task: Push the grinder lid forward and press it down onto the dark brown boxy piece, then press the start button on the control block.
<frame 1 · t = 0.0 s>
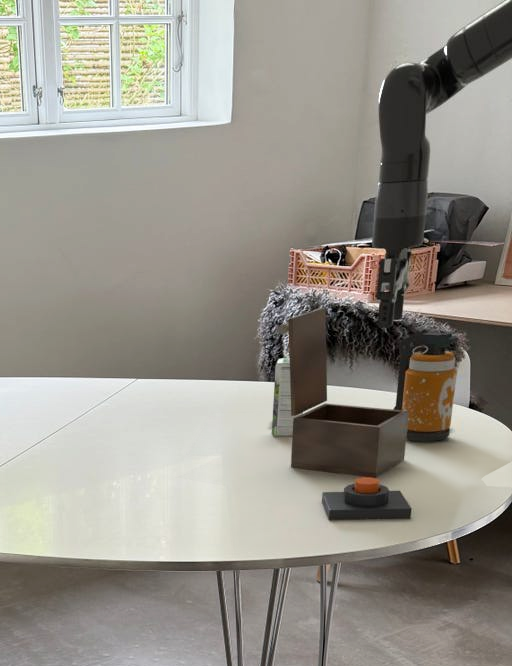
hand: (389, 323, 153), 25 cm above the table, tool pointing down, fingers open, 8 cm apart
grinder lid: (298, 361, 171), point 17 cm above the table, hinge at 95.0°
control block: (364, 510, 149), on the table
dark brown boxy piece: (347, 463, 172), on the table
syrup box: (287, 433, 194), on the table
canister: (418, 438, 184), on the table
start button: (366, 485, 147), point 4 cm above the table, slide at 0.1 cm
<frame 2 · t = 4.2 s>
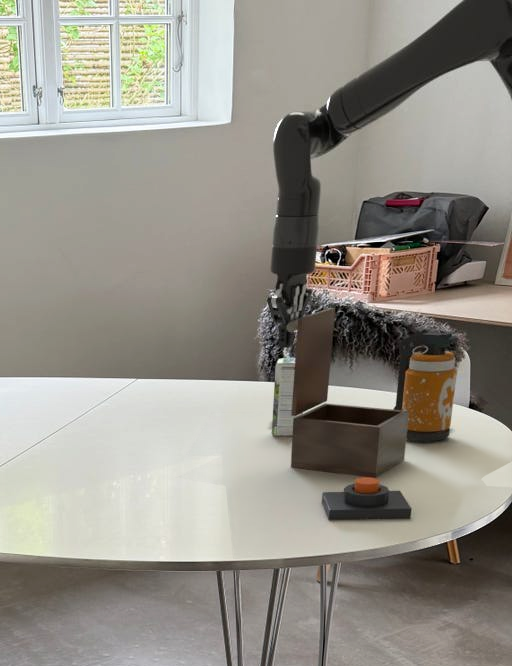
hand: (285, 346, 171), 20 cm above the table, tool pointing down, fingers closed
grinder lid: (302, 360, 170), point 18 cm above the table, hinge at 88.7°, touching gripper, hand
everything else where it was.
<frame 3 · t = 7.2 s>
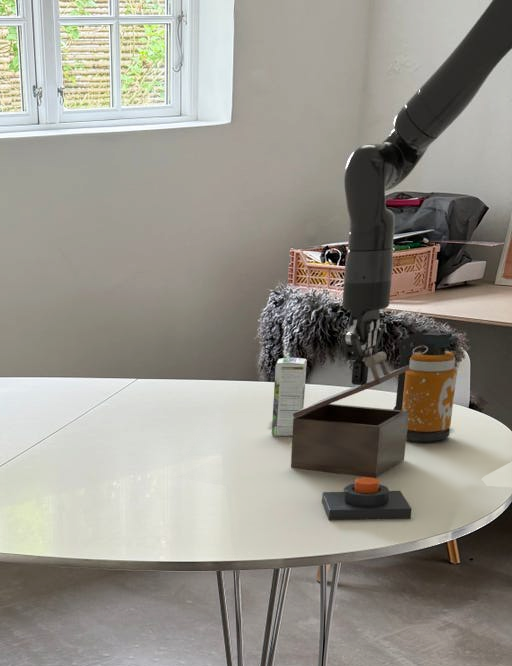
hand: (359, 383, 165), 14 cm above the table, tool pointing down, fingers closed
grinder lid: (346, 380, 166), point 15 cm above the table, hinge at 25.3°, touching gripper
everything else where it was.
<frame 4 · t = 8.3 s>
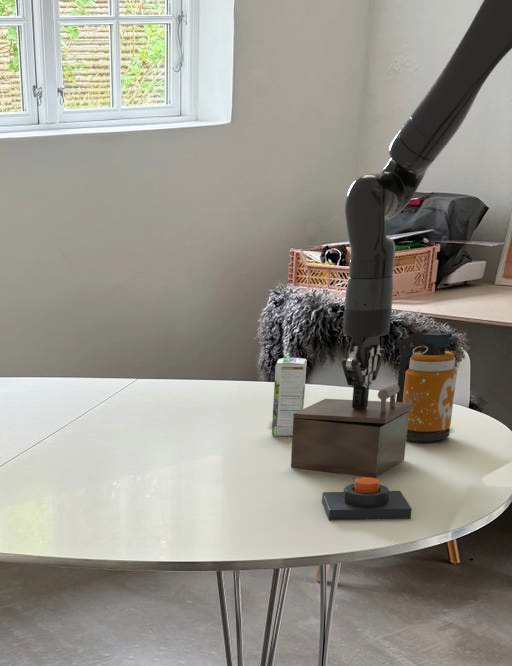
hand: (359, 408, 167), 10 cm above the table, tool pointing down, fingers closed
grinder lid: (354, 399, 167), point 12 cm above the table, hinge at 2.2°, touching gripper
everything else where it was.
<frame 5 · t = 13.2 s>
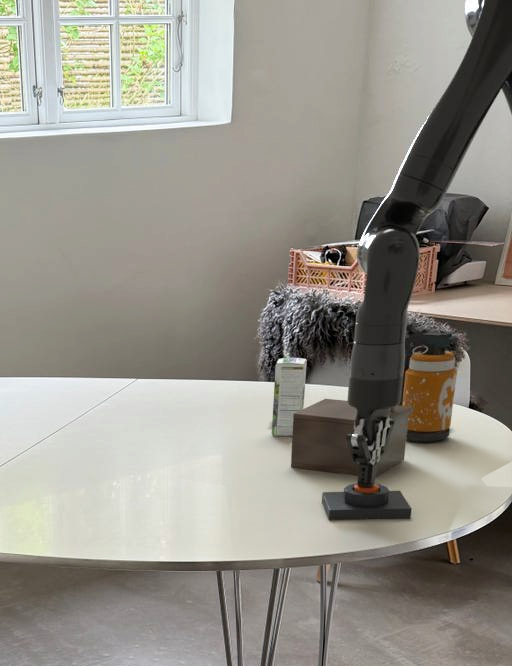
hand: (365, 486, 147), 4 cm above the table, tool pointing down, fingers closed
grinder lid: (354, 401, 167), point 11 cm above the table, hinge at -0.2°, touching dark brown boxy piece
start button: (366, 491, 148), point 3 cm above the table, slide at -0.8 cm, touching gripper
everything else where it was.
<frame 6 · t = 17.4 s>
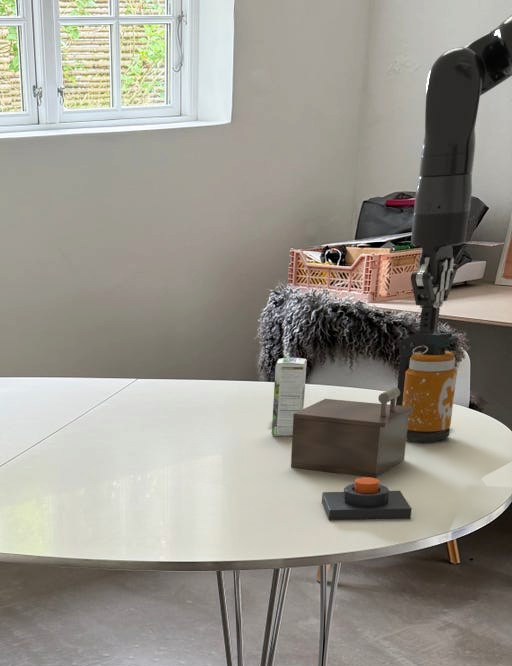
hand: (428, 333, 145), 25 cm above the table, tool pointing down, fingers closed
start button: (366, 485, 147), point 4 cm above the table, slide at 0.1 cm
everything else where it was.
at the end: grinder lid at +0° (first picture: +95°); start button pushed in 1.1 cm at the most during the clip, back to where it started at the end; start button slide at 0.1 cm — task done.
